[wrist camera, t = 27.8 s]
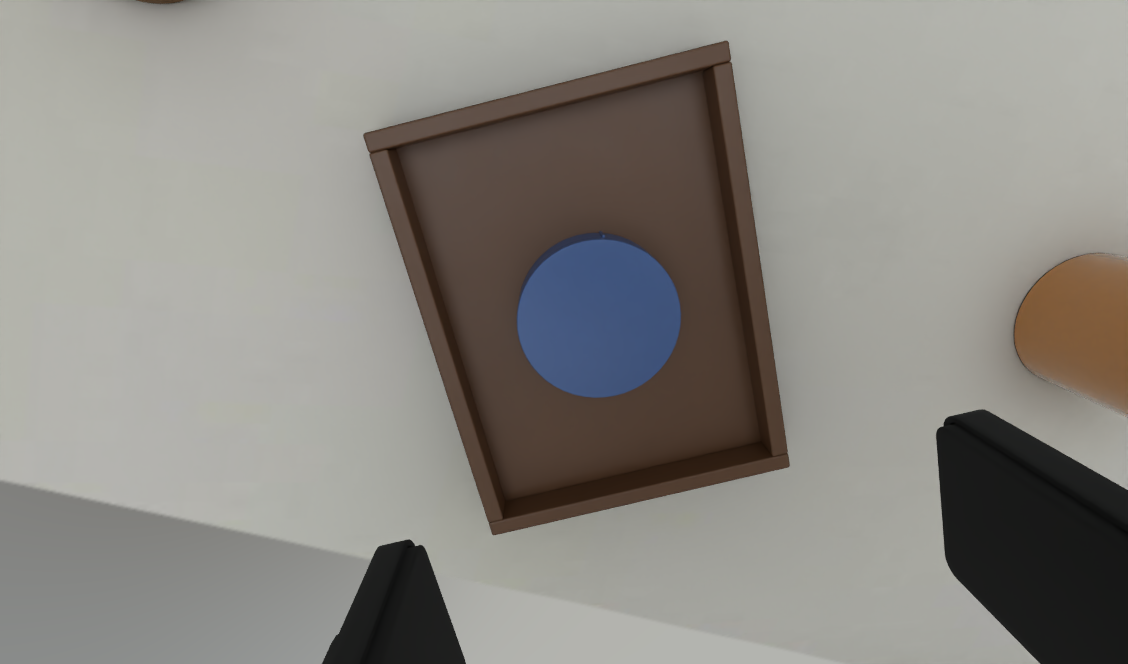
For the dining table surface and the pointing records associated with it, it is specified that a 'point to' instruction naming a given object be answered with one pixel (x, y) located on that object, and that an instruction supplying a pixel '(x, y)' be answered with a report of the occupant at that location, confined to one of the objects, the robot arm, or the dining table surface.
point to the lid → (597, 315)
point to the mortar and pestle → (160, 1)
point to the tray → (573, 207)
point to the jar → (1079, 329)
